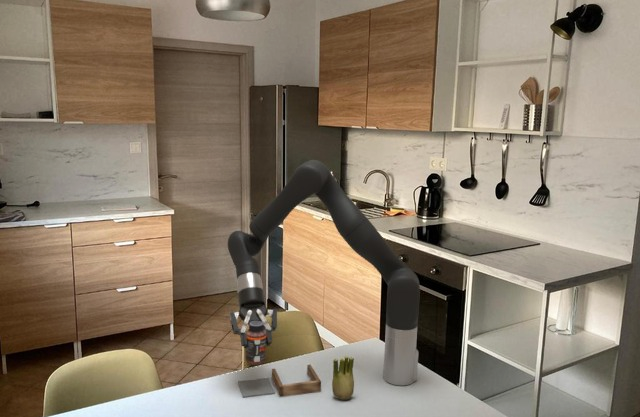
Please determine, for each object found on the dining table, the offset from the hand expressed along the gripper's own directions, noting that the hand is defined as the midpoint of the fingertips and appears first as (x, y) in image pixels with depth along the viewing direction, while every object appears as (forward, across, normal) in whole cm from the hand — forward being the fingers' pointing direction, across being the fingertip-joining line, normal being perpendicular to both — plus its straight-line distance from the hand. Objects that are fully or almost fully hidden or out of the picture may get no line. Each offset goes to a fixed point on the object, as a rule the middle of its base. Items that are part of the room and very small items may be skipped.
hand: (257, 345), depth 149 cm
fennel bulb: (+16, +23, +3) cm, 28 cm away
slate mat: (+9, 0, +11) cm, 14 cm away
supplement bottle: (+3, 0, +5) cm, 6 cm away
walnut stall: (+9, +12, +10) cm, 18 cm away
